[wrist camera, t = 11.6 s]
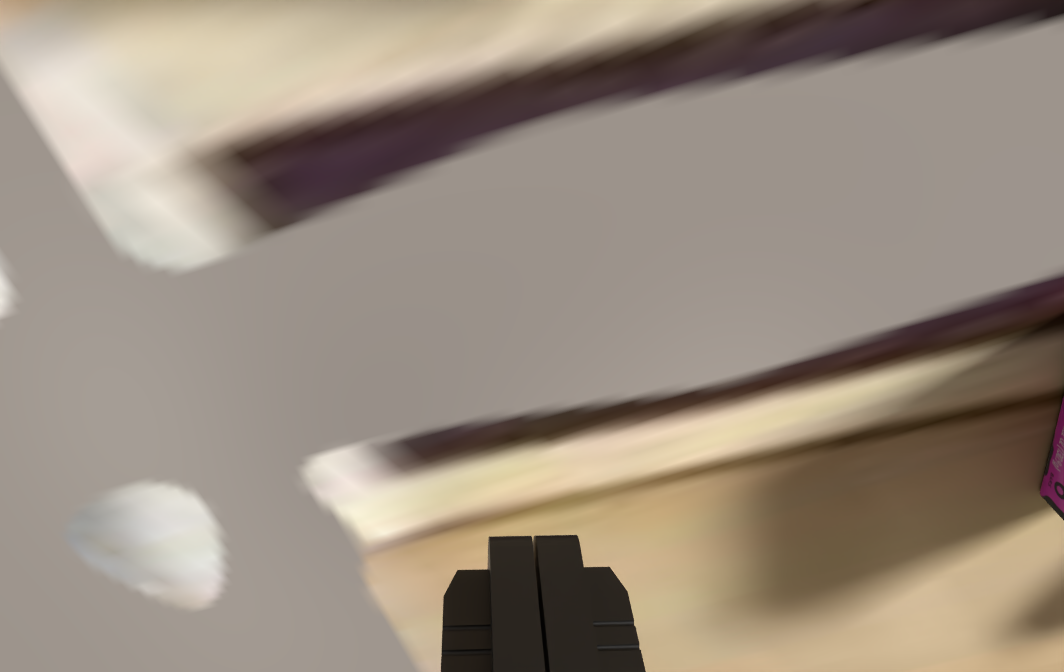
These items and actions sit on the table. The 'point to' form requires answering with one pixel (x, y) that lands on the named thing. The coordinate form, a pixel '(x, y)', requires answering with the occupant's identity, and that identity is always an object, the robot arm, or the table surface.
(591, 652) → the robot arm
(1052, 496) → the candy bar box
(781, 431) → the table surface
